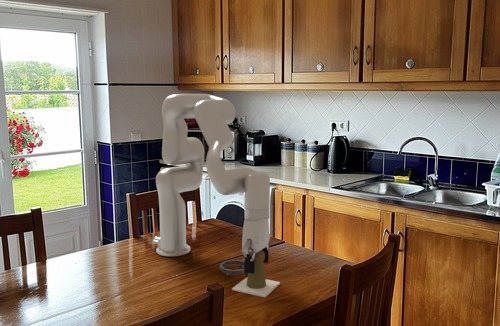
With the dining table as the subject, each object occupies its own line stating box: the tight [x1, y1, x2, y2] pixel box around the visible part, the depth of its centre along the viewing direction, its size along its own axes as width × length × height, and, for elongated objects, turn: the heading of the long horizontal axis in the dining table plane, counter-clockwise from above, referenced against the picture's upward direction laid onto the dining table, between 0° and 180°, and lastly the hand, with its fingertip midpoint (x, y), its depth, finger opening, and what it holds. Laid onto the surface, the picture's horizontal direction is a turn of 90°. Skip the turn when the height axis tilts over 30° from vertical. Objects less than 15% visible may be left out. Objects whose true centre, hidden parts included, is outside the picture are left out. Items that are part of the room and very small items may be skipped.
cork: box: [246, 250, 266, 289], centre depth 146 cm, size 6×6×11 cm
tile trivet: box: [231, 276, 281, 298], centre depth 147 cm, size 11×11×1 cm
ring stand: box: [219, 259, 248, 278], centre depth 159 cm, size 10×10×2 cm
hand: (256, 267), depth 146 cm, fingers open, 9 cm apart
